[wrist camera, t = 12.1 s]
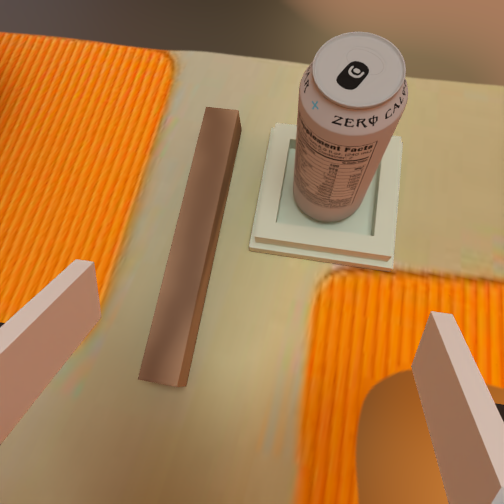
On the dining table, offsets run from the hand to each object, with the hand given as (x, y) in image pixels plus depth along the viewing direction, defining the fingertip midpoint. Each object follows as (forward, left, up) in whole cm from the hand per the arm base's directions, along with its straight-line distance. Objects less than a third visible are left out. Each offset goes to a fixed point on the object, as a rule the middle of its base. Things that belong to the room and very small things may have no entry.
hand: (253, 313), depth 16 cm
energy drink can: (+3, +14, -17) cm, 22 cm away
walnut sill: (-7, +8, -18) cm, 21 cm away
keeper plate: (+3, +14, -18) cm, 23 cm away
